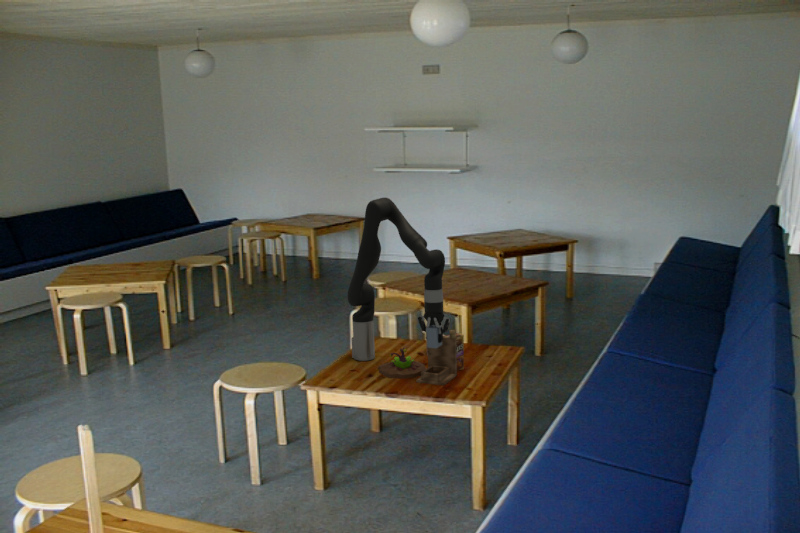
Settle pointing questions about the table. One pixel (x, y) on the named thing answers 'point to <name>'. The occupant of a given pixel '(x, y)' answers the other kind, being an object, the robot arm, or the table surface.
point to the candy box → (459, 350)
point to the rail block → (432, 337)
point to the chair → (441, 362)
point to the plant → (401, 367)
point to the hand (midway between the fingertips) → (434, 341)
